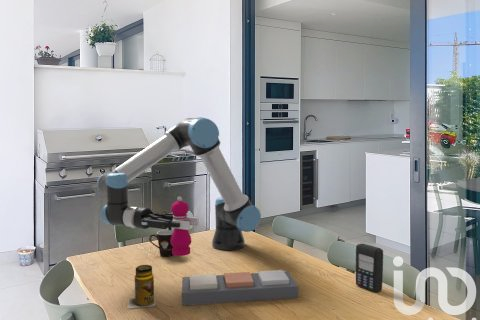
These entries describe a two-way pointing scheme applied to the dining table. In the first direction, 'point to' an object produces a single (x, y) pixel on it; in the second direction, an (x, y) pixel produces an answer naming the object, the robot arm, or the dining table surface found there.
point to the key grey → (273, 277)
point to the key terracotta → (238, 279)
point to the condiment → (143, 288)
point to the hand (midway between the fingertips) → (193, 223)
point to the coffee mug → (164, 242)
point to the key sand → (203, 282)
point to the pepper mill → (180, 236)
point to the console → (238, 292)
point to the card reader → (369, 267)
